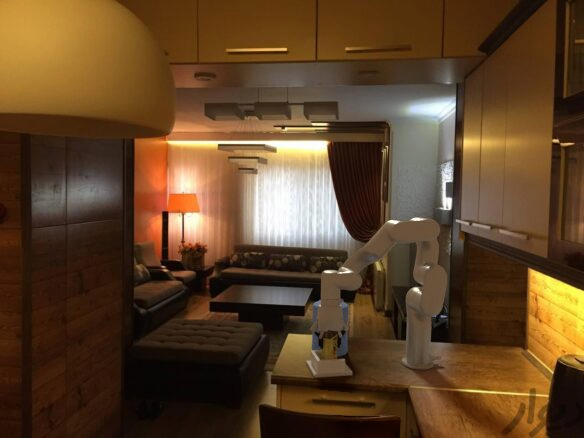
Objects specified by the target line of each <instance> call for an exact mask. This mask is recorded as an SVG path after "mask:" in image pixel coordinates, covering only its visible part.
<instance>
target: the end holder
mask: <svg viewBox="0 0 584 438" xmlns="http://www.w3.org/2000/svg"><path fill="white" fill-rule="evenodd" d="M305 362H306V363H305V364H306V367H308V369H309V371H310V373H311V374H312V376H313V378H328V377H331V378H332V377H343V376H344V377H345V376H347V377H348V376H353V370H351V368H350V367H349V366H348V365H347V363H346V359H345V358H337V359H331V360H322V359H321V350H312V349H311V350H310V360H306V361H305Z"/></svg>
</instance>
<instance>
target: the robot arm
mask: <svg viewBox="0 0 584 438" xmlns="http://www.w3.org/2000/svg"><path fill="white" fill-rule="evenodd" d="M440 232H441V227H440V225H439V223H438V222H437V221H436V220H435V219H432V218H427V217H421V216H419V217H412V218H410V219H409V220H398V219H397V220H396V219H391V220H388V221H386V222H385V223H384V224H383V225H382V226H380V228H379V230H377V231H376V233H375V234H374V235H373V236H372V237H371V238H370V239H369V241H367V242H366V244H365V245H364V246H362V247H361V248H359V249H358V250H357V251H355V252H354V253H353V254H351V256H349V257H348V258H347V259H346V260H345V261H344V263H342V265H341V266H340V267H339V268H338V270H335V269H325V270H323V271H322V272H321V274H320V277H321V278H320V300H321V305H319V306H318V311H317V319H316V323H315V324H314V325H313V324H312V326H311V327H310V331H311V333H312V332H313V333H314V334H315V335H316V336H317V337H318V346H319V347H320V348H321V349H323V338H322V336H323V334H324V332H327V331H328V330H331V331H337V333H338V345H337V347H338V348H340V345H341V338H342V336H343V335H344V334H345V333H346V332H347V331H349V329H350V326H348V325H346V324H345V323H344V322H343V312H342V306H341V303H342V302H344V298H341V290H343V291H356V290H358V289H359V288H361V286H362V284H363V279H362V277H361V274H359V273H360V272H361V271H362V270H363V269H364V268H366V267H368V266H369V265H372V264H375V263H377V262H380V261H382V260H383V259H384V258H385V256H386V255H387V254H389V252H390V251H391V249H393V247H395V245H396V244H415V243H416V256H415V261H414V268H413V272H412V274H413V275H412V277H413V279H414V281H415V282H417V283H418V284H420V285H422V287H421V286H414V287H412V288H410V289H409V290H408V291H407V293H406V294H405V295H406V296H405V308H406V339H405V357H402V359H401V364H402V365H403V366H404V367H406V368H410V369H413V370H421V371H425V370H431V369H432V368H433V367H434V365H435V364H434V361H435V360H436V361H439V360H440V361H441V360H442V356H441V354H436V353H431V339H432V318H434V317H436V316H437V315H439V314H440V313H441V312H442V309H443V307H444V302H445V299H446V292H447V286H448V275H447V271H446V269H444V267H443V266H441V265H439V264H438V261H439V254H440V245H439V241H438V239H437V238H438V237H439V235H440ZM344 303H345V302H344ZM343 326H344V329H343ZM316 328H318V329H319V332H317V331H316V330H315V329H316Z"/></svg>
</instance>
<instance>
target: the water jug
mask: <svg viewBox="0 0 584 438" xmlns="http://www.w3.org/2000/svg"><path fill="white" fill-rule="evenodd" d="M319 305H321V299H319V300H318V301H316V302H314V303H313V304H312V326H313V325H314V324H315V323H316V319H317V311H318V306H319ZM341 306H342V312H343V322H344V323H345V324H346V325H347V323H348V321H349V311H350V309H349V305H348V304H347V303H346V302H342V303H341ZM347 326H348V325H347ZM343 329H344V326H343ZM315 330H316V331H317V332H319V329H318V328H316V329H315ZM311 333H312V335H311V337H312V338H311V339H312V340H311V350H322V349H321V348H320V347H319V346H318V337H317V336H316V335H315V334H314V333H313V332H312V331H311ZM347 334H348V333H347V332H346V333H345V334H344V335H343V336H342V338H341V345H340V348H338V347H337V358H339V357H343V356H346V354H347V353H348V351H349V350H348V341H349V339H348V335H347Z"/></svg>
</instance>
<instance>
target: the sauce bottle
mask: <svg viewBox="0 0 584 438" xmlns="http://www.w3.org/2000/svg"><path fill="white" fill-rule="evenodd" d="M322 338H323V349H322V350H321V359H322V360H331V359H338V357H337V345H338V333H337V331H331V330H328V331H327V332H324V334H323V336H322Z"/></svg>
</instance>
